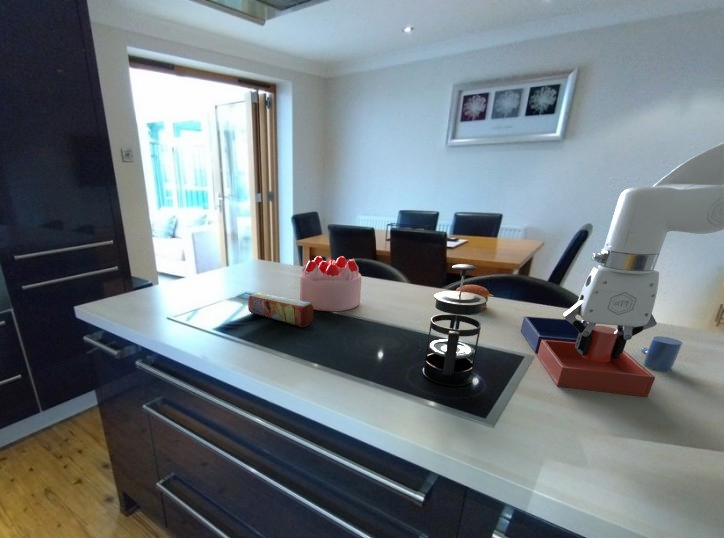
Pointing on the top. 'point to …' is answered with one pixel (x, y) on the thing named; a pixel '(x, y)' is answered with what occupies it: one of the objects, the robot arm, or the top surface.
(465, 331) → the french press
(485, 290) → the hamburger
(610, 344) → the red block
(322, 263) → the cake
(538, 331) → the blue bin
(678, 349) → the blue cylinder
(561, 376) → the red bin
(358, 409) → the top surface
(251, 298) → the snack package
